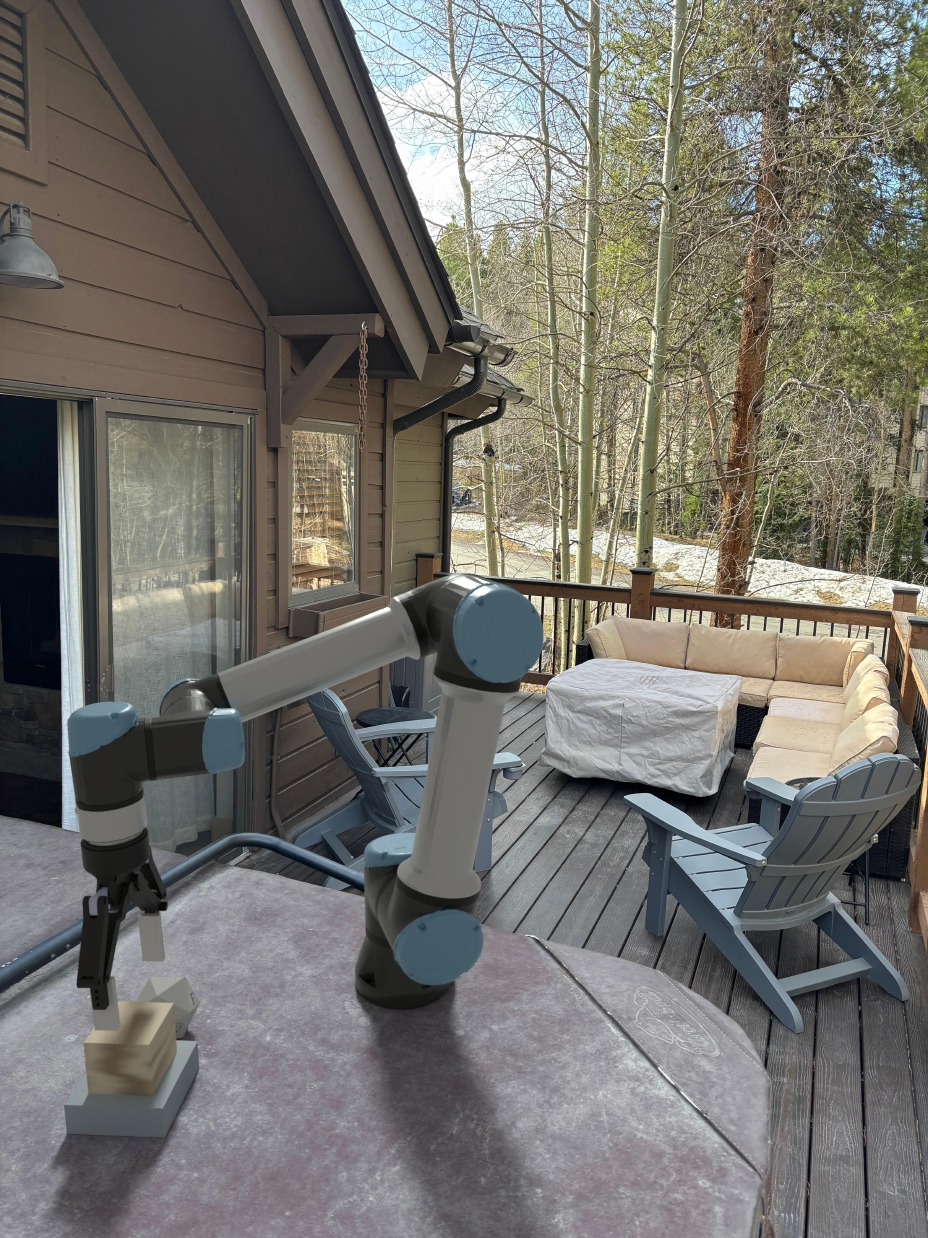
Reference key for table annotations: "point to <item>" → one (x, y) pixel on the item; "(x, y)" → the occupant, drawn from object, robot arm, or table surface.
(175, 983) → the die
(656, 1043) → the table surface
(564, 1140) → the table surface
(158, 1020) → the maple block
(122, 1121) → the plinth
